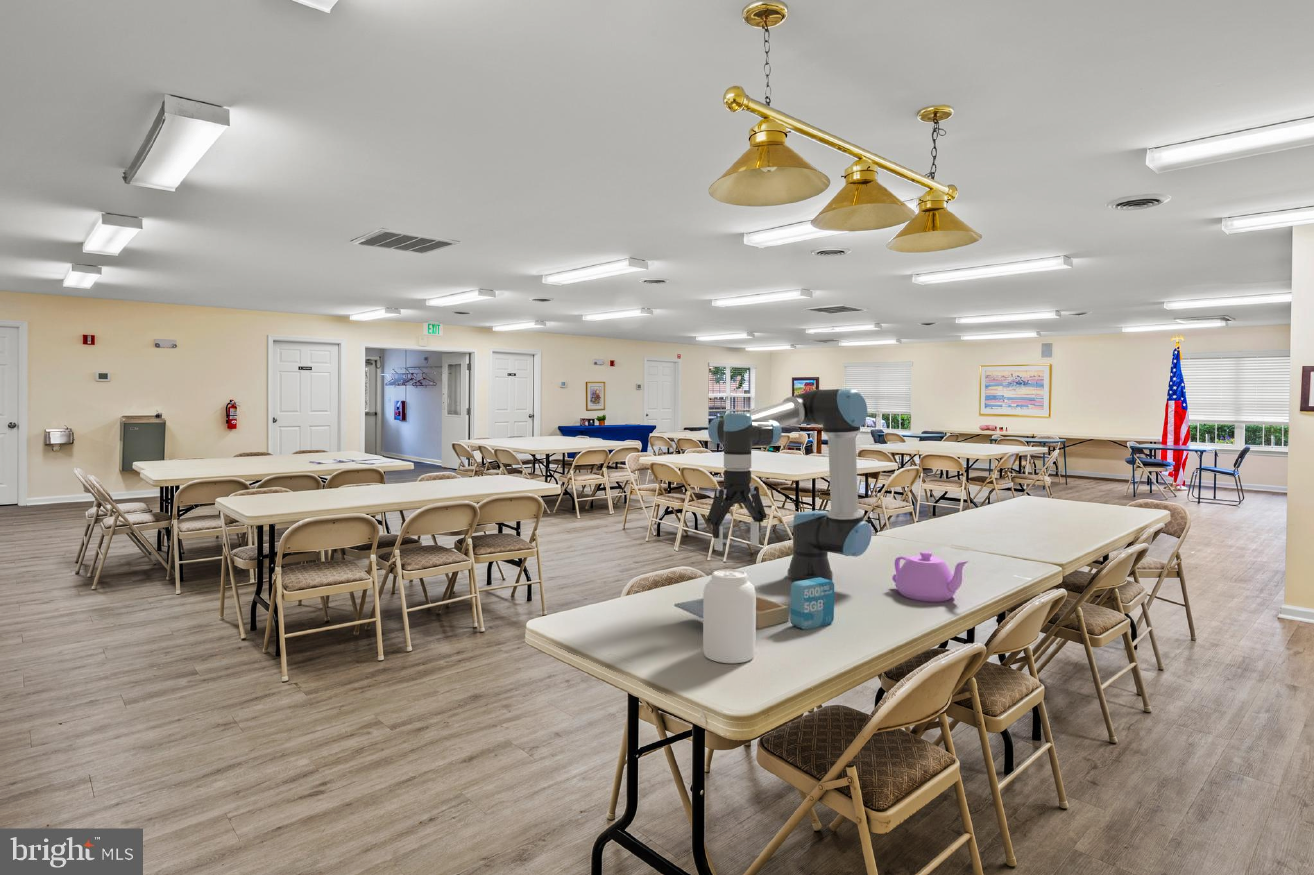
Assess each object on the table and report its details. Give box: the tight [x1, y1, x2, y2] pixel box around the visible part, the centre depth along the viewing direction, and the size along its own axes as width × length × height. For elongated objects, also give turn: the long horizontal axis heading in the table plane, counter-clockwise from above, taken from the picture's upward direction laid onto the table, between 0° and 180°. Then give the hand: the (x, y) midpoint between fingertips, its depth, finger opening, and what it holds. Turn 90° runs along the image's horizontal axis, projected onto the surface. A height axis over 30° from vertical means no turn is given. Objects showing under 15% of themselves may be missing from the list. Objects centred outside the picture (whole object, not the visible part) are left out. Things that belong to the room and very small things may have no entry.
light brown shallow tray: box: [756, 595, 790, 629], centre depth 192 cm, size 11×17×4 cm, turn 33°
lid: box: [673, 598, 703, 620], centre depth 183 cm, size 11×17×4 cm, turn 33°
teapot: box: [892, 550, 969, 603], centre depth 212 cm, size 25×18×14 cm
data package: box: [789, 577, 835, 631], centre depth 184 cm, size 12×4×12 cm, turn 121°
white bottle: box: [702, 568, 757, 664], centre depth 162 cm, size 12×12×20 cm
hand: (736, 547), depth 187 cm, fingers open, 12 cm apart
